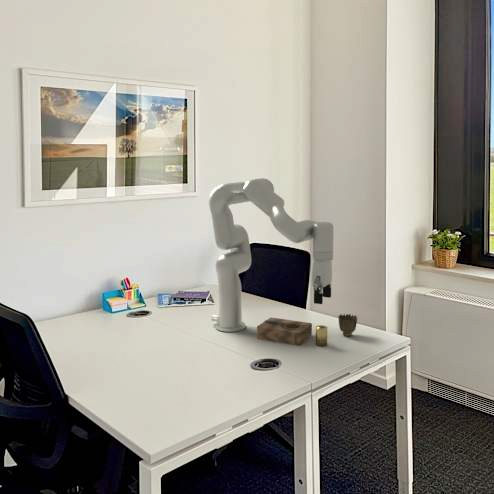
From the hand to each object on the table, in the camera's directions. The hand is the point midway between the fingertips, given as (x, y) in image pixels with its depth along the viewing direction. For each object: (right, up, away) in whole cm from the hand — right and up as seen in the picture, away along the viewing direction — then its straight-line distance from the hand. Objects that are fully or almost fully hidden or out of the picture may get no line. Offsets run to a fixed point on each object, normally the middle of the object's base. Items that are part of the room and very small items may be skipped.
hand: (322, 300), depth 210 cm
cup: (+12, -16, +13) cm, 23 cm away
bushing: (0, -17, +3) cm, 18 cm away
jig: (-13, -16, +12) cm, 24 cm away
